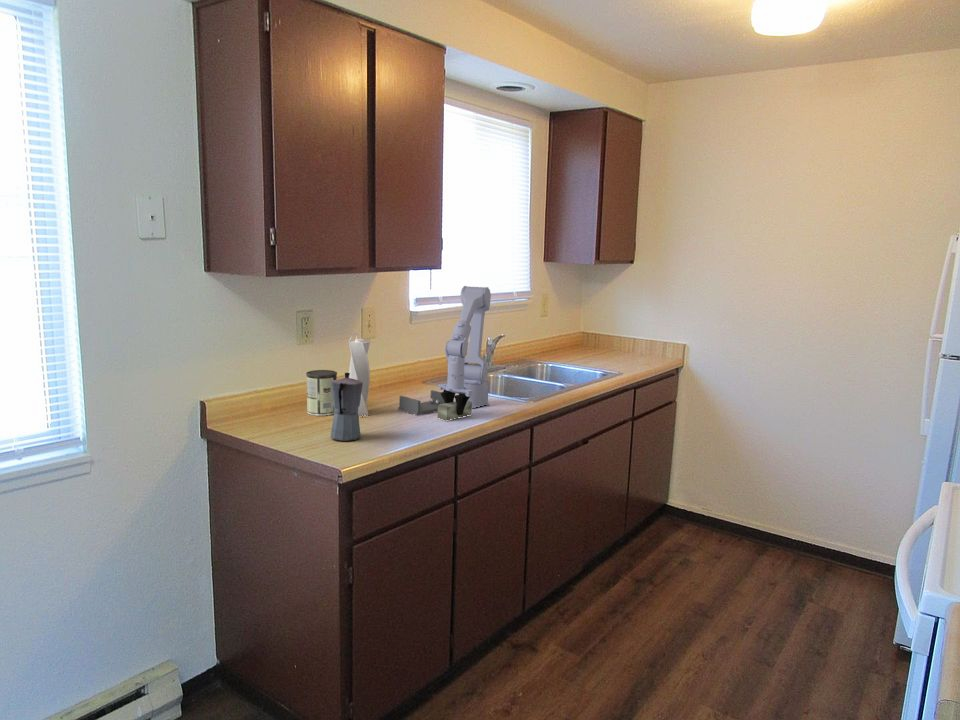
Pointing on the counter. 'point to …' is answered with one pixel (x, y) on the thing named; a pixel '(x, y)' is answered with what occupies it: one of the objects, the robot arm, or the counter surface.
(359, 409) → the skyscraper
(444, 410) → the olive green rectangular block
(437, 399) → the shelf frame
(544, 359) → the counter surface
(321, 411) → the coffee can
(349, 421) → the moka pot
